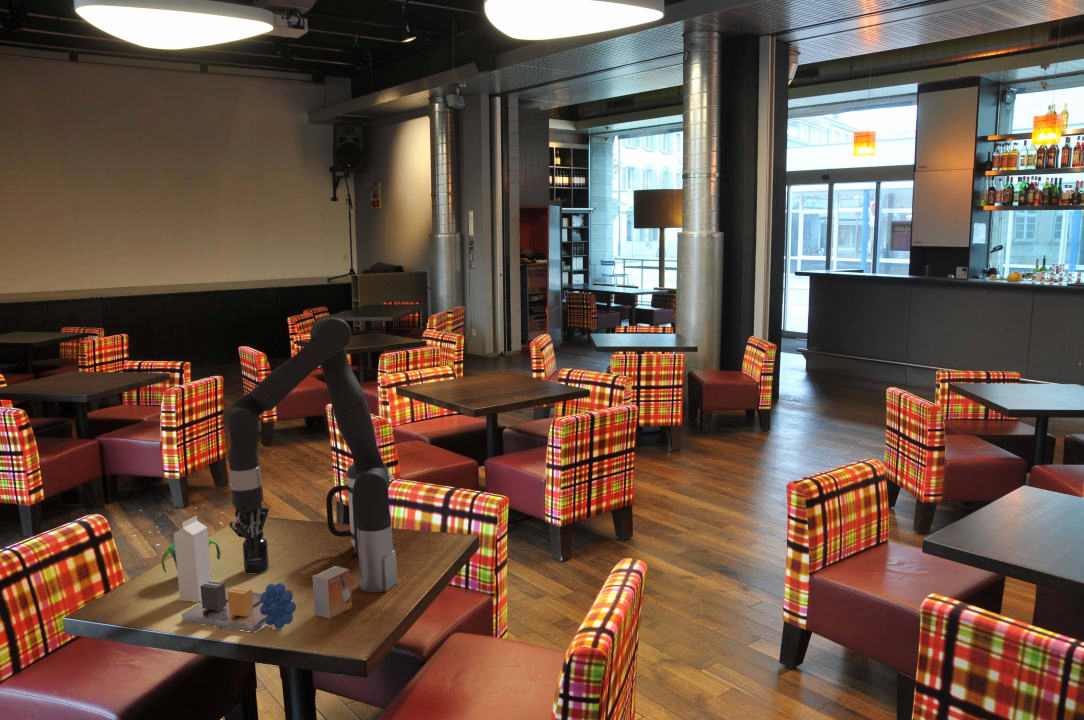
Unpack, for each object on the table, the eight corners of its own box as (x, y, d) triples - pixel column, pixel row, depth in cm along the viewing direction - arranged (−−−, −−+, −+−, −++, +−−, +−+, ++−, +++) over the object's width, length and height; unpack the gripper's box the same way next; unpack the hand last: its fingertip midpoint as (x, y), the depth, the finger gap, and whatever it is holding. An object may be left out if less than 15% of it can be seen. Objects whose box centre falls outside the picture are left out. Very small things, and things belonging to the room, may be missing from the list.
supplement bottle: (253, 576, 236) (250, 536, 234) (239, 571, 240) (236, 531, 238) (274, 568, 241) (271, 529, 239) (260, 563, 245) (257, 525, 244)
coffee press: (370, 535, 266) (365, 445, 262) (405, 545, 257) (401, 452, 252) (327, 553, 252) (321, 458, 248) (363, 564, 243) (357, 465, 239)
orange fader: (253, 611, 208) (251, 588, 207) (245, 616, 205) (243, 593, 204) (237, 609, 210) (235, 585, 209) (229, 614, 207) (227, 590, 206)
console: (294, 605, 217) (293, 597, 216) (254, 633, 202) (253, 625, 201) (225, 595, 224) (224, 588, 223) (182, 621, 209) (181, 613, 208)
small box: (329, 619, 208) (327, 580, 206) (314, 615, 211) (311, 575, 209) (352, 607, 215) (350, 569, 213) (337, 602, 217) (334, 564, 216)
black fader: (226, 605, 212) (224, 582, 211) (218, 610, 209) (216, 587, 208) (210, 603, 213) (208, 580, 212) (202, 608, 211) (200, 585, 210)
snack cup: (165, 589, 229) (161, 554, 227) (161, 576, 238) (158, 542, 236) (224, 577, 236) (221, 543, 235) (219, 564, 245) (216, 532, 244)
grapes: (309, 626, 205) (306, 580, 203) (288, 637, 199) (286, 590, 197) (275, 616, 210) (272, 571, 209) (254, 627, 204) (251, 581, 203)
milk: (179, 601, 221) (171, 522, 218) (194, 591, 227) (186, 514, 224) (199, 602, 220) (191, 523, 216) (213, 593, 225) (206, 515, 222)
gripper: (241, 493, 201) (248, 561, 203) (275, 478, 213) (281, 542, 215) (215, 491, 203) (222, 559, 205) (250, 476, 215) (256, 539, 218)
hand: (252, 550), depth 210 cm, fingers closed
